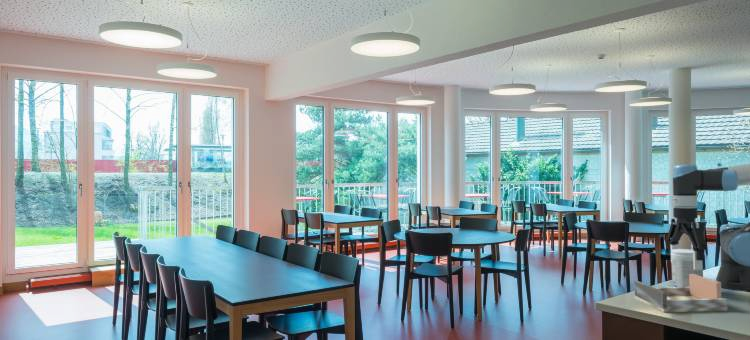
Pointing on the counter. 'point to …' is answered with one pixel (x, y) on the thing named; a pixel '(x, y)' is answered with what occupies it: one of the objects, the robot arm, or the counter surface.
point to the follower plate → (704, 287)
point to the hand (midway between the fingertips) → (686, 265)
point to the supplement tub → (683, 267)
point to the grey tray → (676, 299)
